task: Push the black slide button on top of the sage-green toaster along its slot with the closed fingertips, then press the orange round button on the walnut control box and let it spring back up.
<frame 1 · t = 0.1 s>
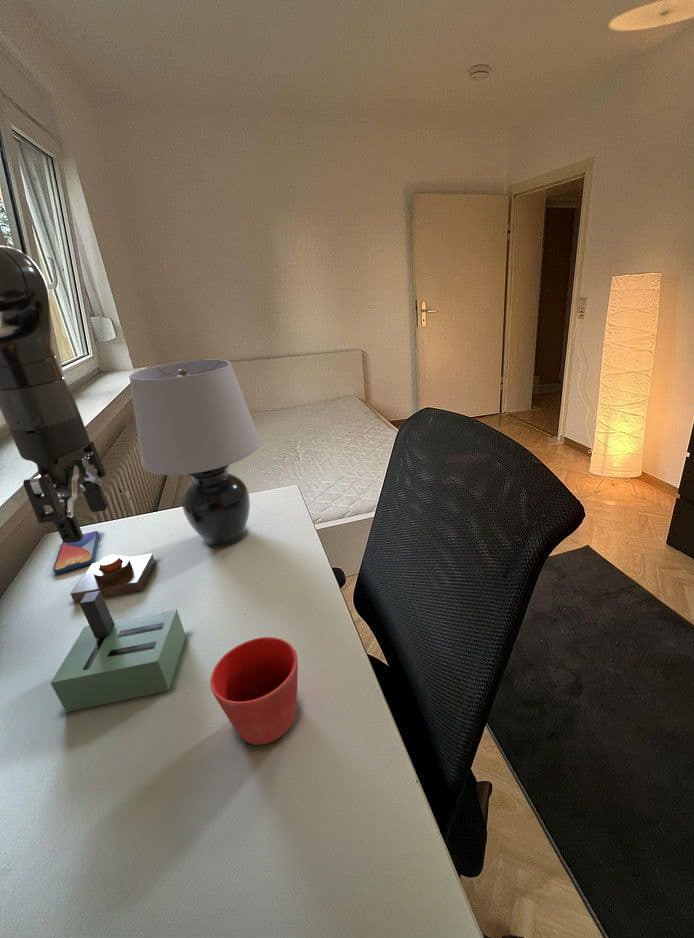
hand: (87, 524, 63), 25 cm above the table, tool pointing down, fingers open, 8 cm apart
flower pot: (268, 718, 61), on the table
round button: (110, 563, 90), point 4 cm above the table, slide at 0.1 cm
lamp: (226, 536, 105), on the table
slide button: (97, 614, 68), point 10 cm above the table, slide at 0.0 cm
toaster: (131, 670, 70), on the table
smartphone: (78, 553, 102), on the table
control box: (117, 580, 92), on the table
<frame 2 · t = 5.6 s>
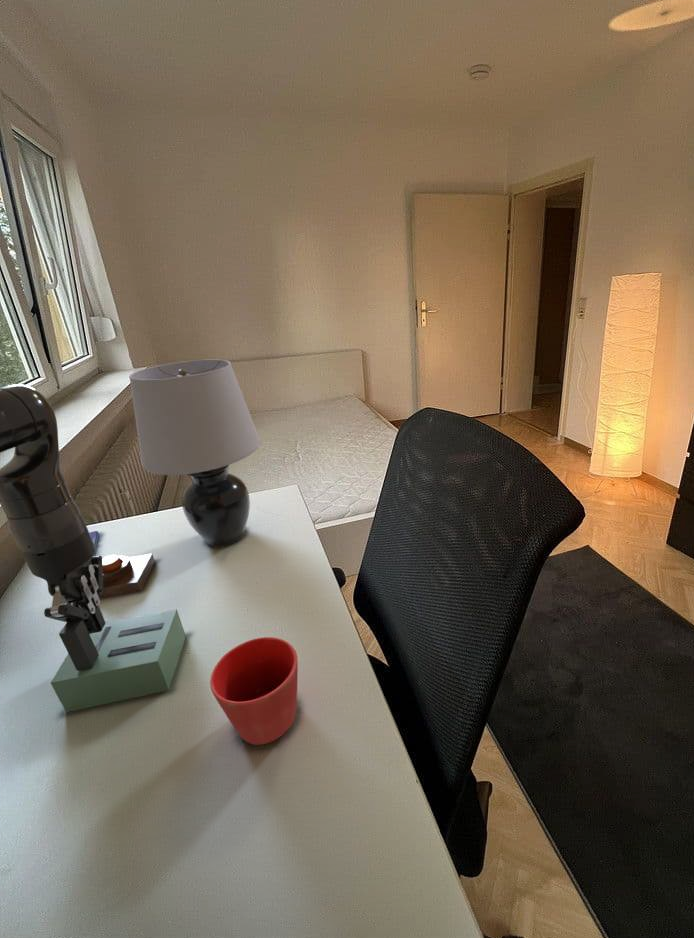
hand: (96, 629, 67), 8 cm above the table, tool pointing down, fingers closed
slide button: (79, 645, 63), point 10 cm above the table, slide at 6.2 cm, touching hand
everything else where it was.
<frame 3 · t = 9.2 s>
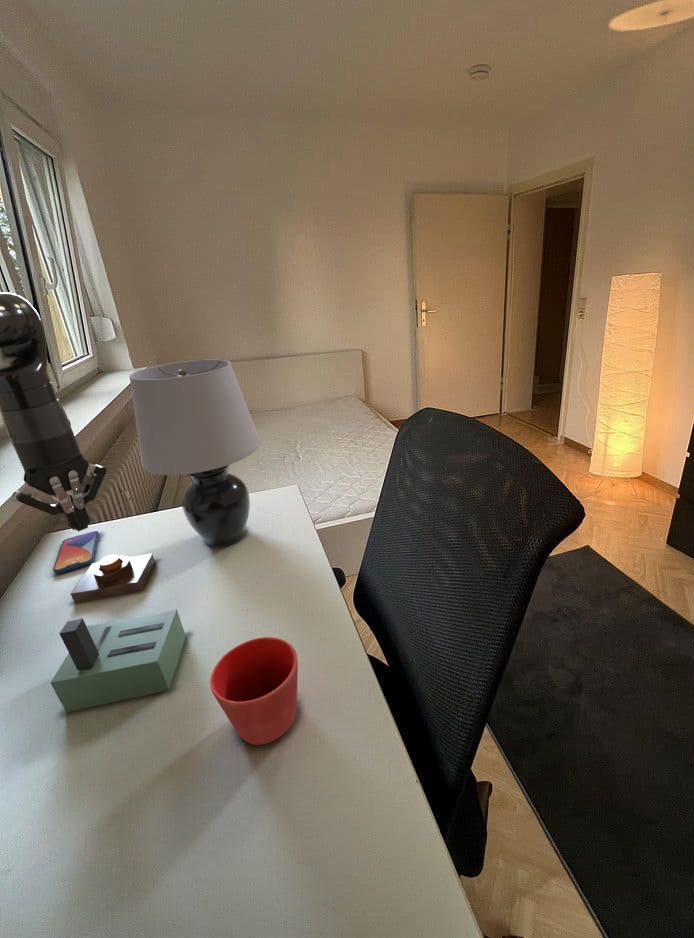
hand: (81, 528, 75), 19 cm above the table, tool pointing down, fingers closed
slide button: (80, 644, 63), point 10 cm above the table, slide at 6.1 cm
everything else where it was.
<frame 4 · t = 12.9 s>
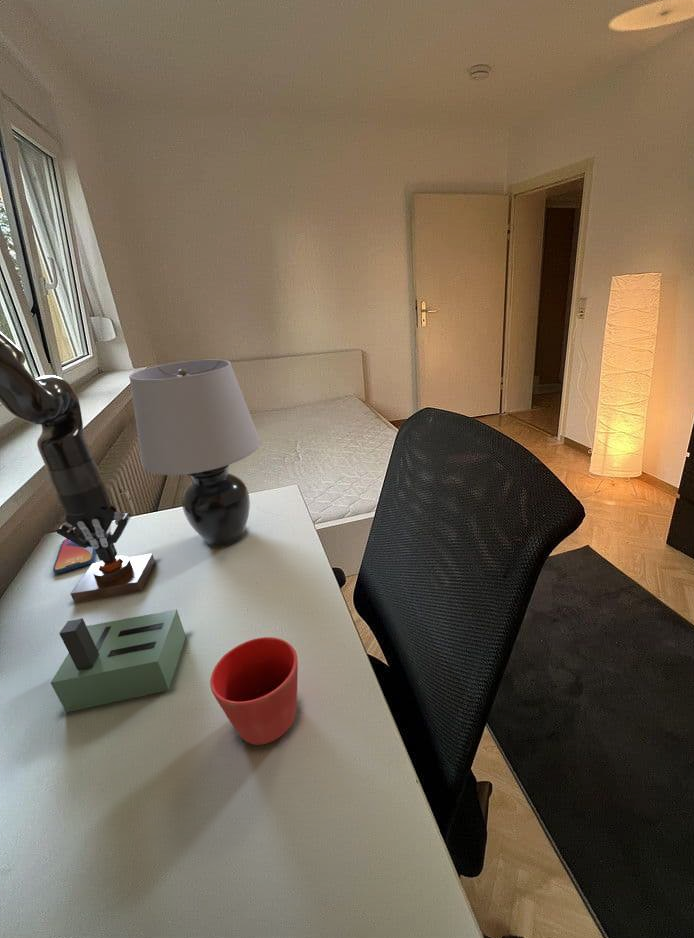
hand: (109, 560, 90), 5 cm above the table, tool pointing down, fingers closed
round button: (110, 564, 90), point 4 cm above the table, slide at -0.1 cm, touching gripper
everything else where it was.
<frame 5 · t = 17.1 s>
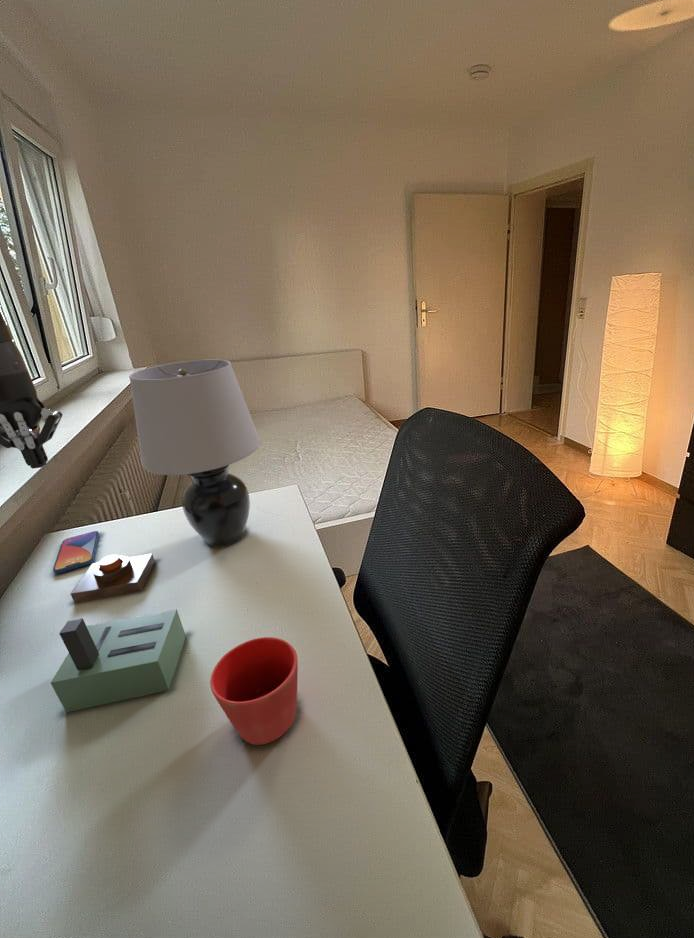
hand: (39, 466, 80), 27 cm above the table, tool pointing down, fingers closed
round button: (110, 563, 90), point 4 cm above the table, slide at 0.1 cm
everything else where it was.
at the end: slide button slide at 6.1 cm; round button pushed in 1.1 cm at the most during the clip, back to where it started at the end; round button slide at 0.1 cm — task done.
